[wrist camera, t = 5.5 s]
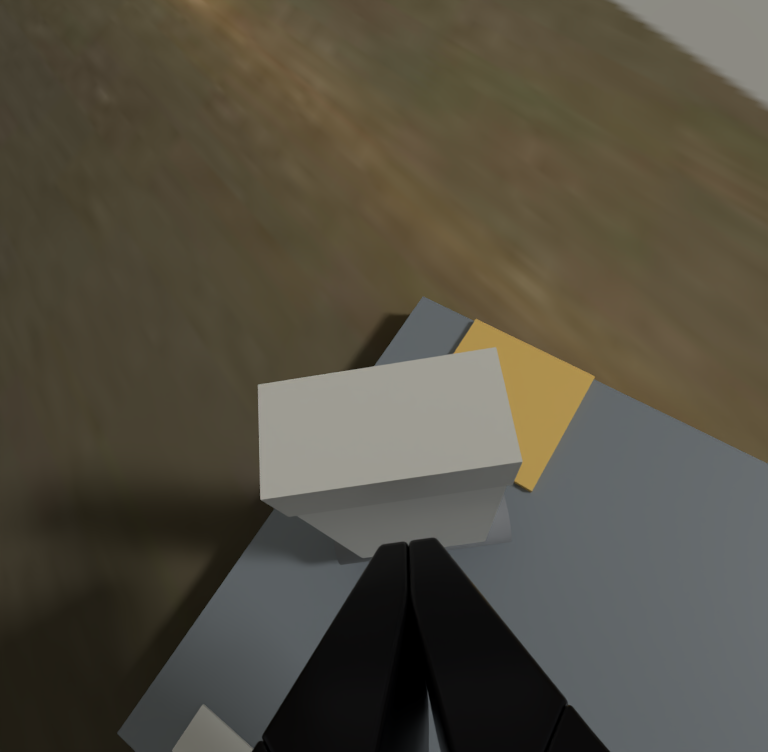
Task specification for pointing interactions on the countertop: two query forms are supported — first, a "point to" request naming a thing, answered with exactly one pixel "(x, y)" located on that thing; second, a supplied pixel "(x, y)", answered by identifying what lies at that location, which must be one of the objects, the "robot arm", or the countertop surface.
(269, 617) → the switch panel
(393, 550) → the robot arm
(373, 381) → the lever
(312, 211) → the countertop surface
